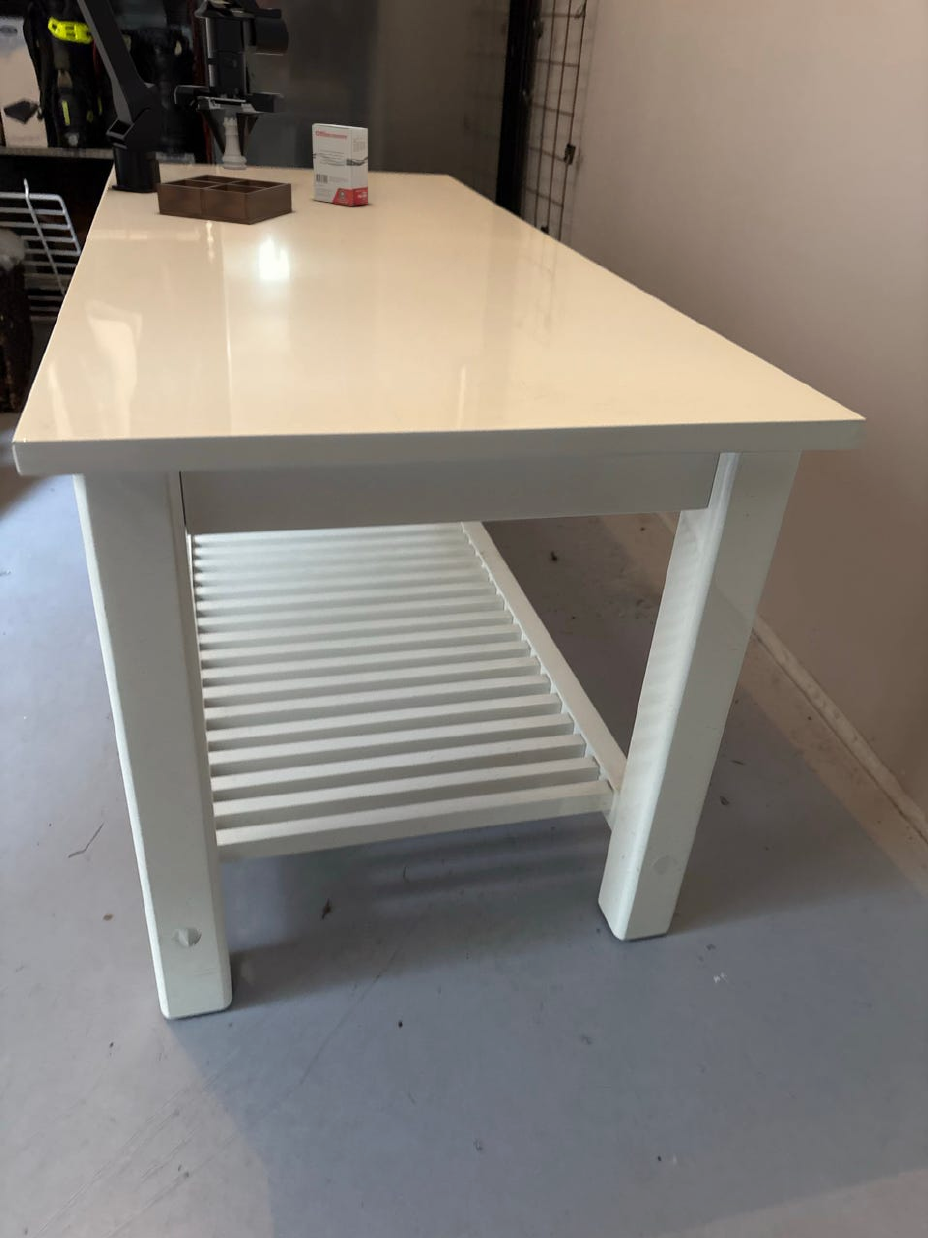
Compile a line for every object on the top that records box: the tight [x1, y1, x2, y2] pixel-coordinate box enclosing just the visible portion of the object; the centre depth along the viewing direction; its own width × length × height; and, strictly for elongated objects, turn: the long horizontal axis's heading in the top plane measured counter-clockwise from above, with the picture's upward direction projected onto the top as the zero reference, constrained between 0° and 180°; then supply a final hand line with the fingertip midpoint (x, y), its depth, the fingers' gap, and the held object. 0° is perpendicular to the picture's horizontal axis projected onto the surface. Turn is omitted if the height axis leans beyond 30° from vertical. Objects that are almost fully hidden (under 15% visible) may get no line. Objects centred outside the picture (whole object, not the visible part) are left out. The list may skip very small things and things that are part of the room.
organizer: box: [156, 174, 293, 225], centre depth 139 cm, size 15×15×4 cm
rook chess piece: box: [221, 117, 248, 171], centre depth 160 cm, size 4×4×8 cm
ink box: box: [311, 123, 369, 207], centre depth 153 cm, size 9×5×12 cm, turn 58°
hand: (234, 154), depth 161 cm, fingers closed on rook chess piece, 3 cm apart
